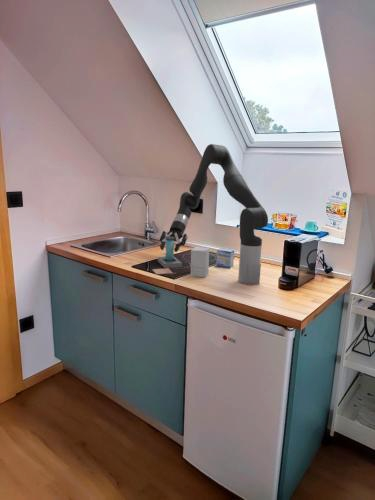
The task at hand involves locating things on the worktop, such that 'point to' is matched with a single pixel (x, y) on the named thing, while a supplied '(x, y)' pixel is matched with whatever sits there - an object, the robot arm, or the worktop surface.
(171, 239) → the plug
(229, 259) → the medicine box
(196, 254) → the supplement box
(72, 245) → the worktop surface
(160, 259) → the grey base plate
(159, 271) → the coaster
